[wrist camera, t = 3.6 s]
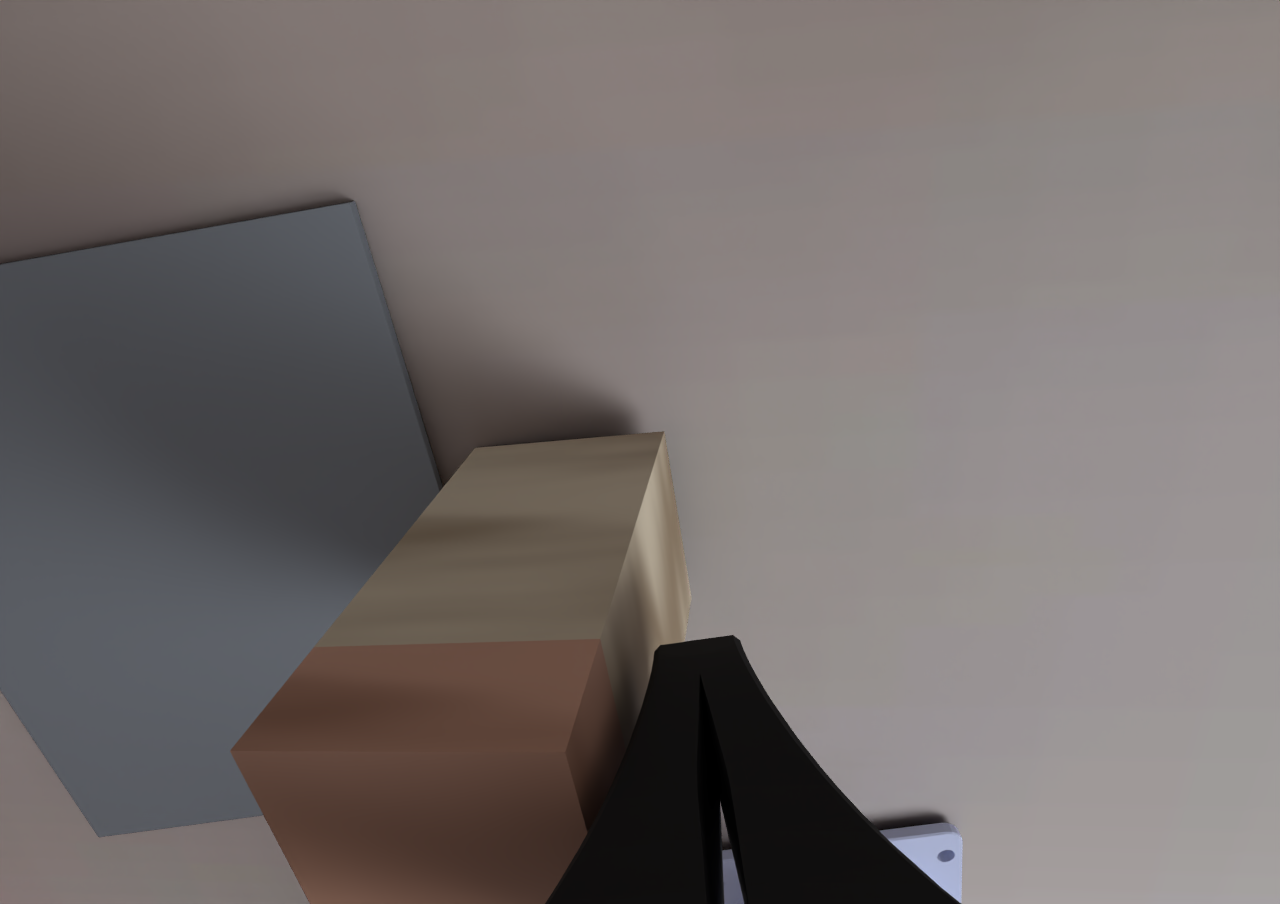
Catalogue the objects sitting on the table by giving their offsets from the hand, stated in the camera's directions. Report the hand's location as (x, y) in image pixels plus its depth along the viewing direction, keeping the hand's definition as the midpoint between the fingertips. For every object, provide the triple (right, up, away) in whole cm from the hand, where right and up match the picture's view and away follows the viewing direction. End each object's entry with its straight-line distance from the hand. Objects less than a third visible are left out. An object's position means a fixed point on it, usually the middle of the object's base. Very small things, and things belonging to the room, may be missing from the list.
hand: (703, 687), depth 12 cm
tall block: (-2, +2, +6) cm, 6 cm away
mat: (-12, +1, +6) cm, 14 cm away
